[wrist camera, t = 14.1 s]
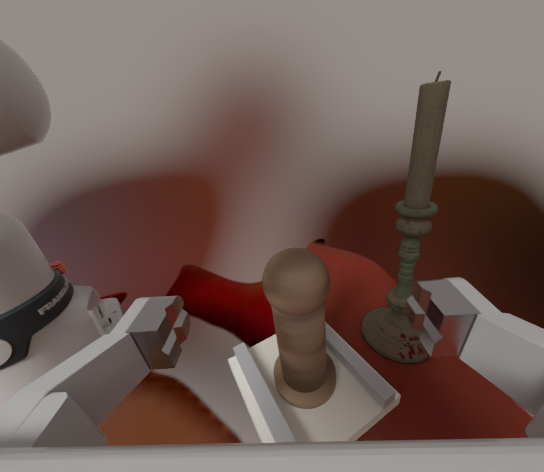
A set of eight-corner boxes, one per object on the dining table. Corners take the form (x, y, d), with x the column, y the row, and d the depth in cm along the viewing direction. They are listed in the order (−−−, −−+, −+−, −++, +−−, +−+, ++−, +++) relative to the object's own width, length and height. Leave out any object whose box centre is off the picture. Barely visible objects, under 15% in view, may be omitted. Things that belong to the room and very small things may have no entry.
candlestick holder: (377, 368, 29) (411, 69, 15) (352, 312, 37) (360, 86, 24) (453, 359, 28) (556, 49, 15) (411, 306, 37) (453, 73, 23)
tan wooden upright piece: (264, 367, 29) (239, 250, 22) (311, 340, 32) (303, 227, 24) (295, 423, 23) (277, 290, 16) (349, 385, 26) (354, 255, 19)
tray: (230, 367, 31) (225, 351, 30) (316, 320, 36) (315, 305, 35) (285, 500, 20) (281, 484, 18) (399, 403, 25) (402, 386, 24)
